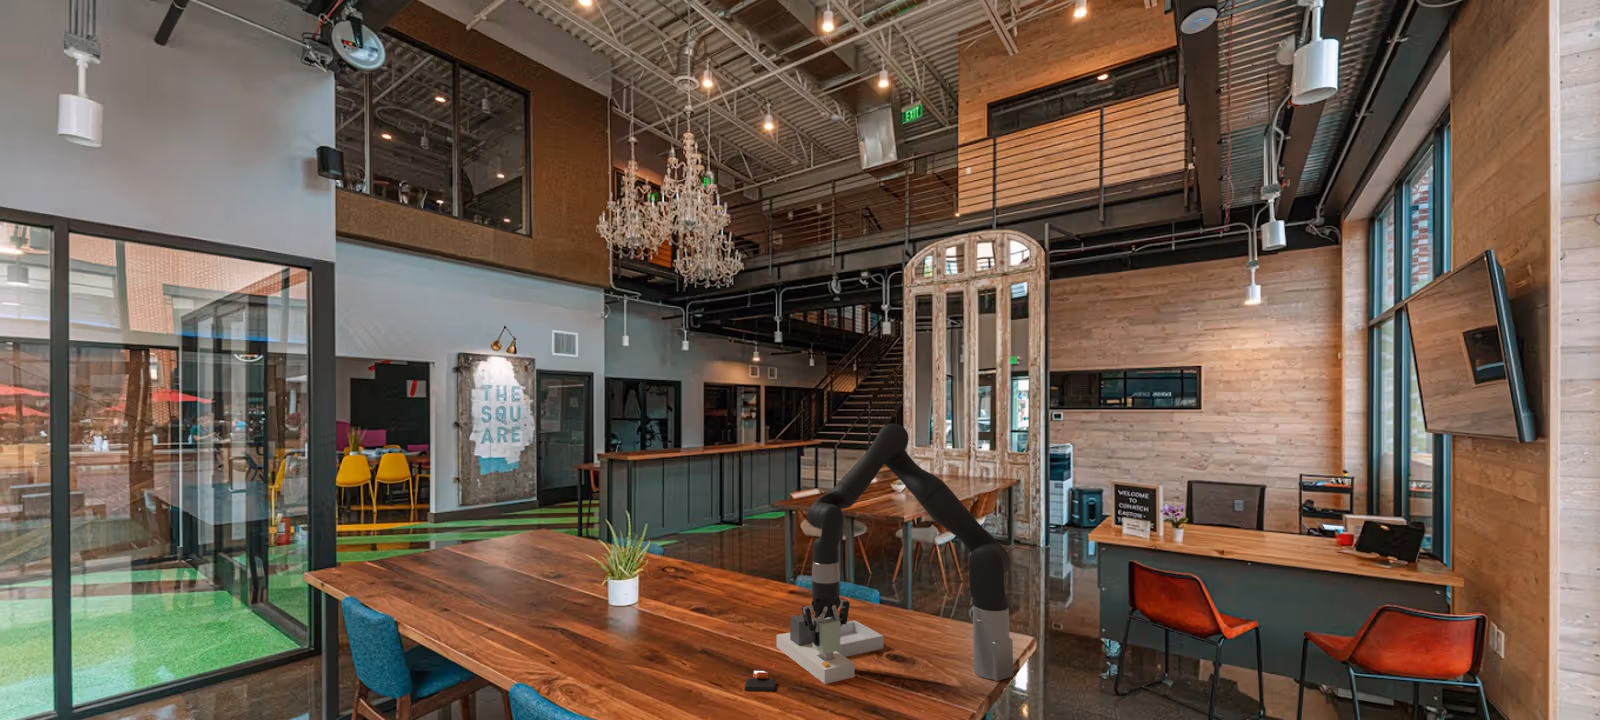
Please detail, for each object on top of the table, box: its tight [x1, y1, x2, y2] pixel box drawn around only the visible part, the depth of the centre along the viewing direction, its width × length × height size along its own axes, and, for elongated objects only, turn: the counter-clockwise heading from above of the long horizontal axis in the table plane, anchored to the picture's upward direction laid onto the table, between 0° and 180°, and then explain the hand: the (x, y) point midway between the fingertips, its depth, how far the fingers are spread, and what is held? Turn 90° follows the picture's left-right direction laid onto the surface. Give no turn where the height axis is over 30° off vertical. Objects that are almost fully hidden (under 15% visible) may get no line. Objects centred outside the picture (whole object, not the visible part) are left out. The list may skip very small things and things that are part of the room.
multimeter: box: [744, 661, 777, 693], centre depth 162 cm, size 18×12×3 cm, turn 172°
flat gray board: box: [776, 632, 856, 685], centre depth 172 cm, size 28×9×4 cm, turn 28°
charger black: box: [789, 614, 813, 646], centre depth 177 cm, size 5×5×9 cm
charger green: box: [812, 617, 840, 661], centre depth 166 cm, size 5×5×10 cm
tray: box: [837, 619, 884, 658], centre depth 184 cm, size 15×15×4 cm
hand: (826, 643), depth 166 cm, fingers closed on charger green, 5 cm apart
